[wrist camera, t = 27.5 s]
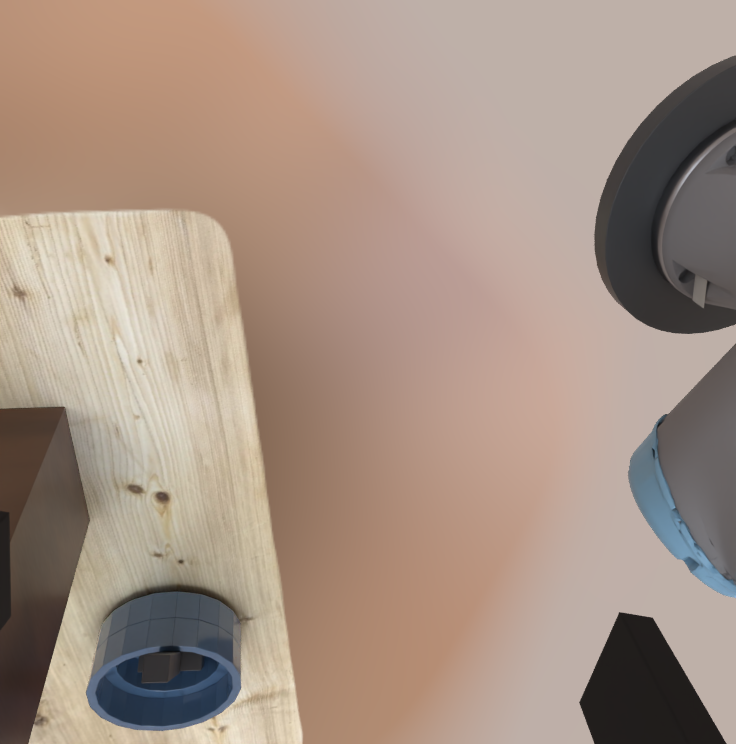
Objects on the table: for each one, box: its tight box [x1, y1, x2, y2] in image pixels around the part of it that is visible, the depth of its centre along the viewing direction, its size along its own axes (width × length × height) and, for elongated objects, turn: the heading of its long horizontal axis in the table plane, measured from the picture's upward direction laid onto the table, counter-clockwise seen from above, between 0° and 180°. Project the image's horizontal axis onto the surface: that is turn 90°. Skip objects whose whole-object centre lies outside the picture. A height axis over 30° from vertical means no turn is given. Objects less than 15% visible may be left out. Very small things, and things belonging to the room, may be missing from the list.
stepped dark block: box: [137, 651, 205, 683], centre depth 52 cm, size 21×6×2 cm
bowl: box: [86, 591, 241, 731], centre depth 59 cm, size 14×14×6 cm
